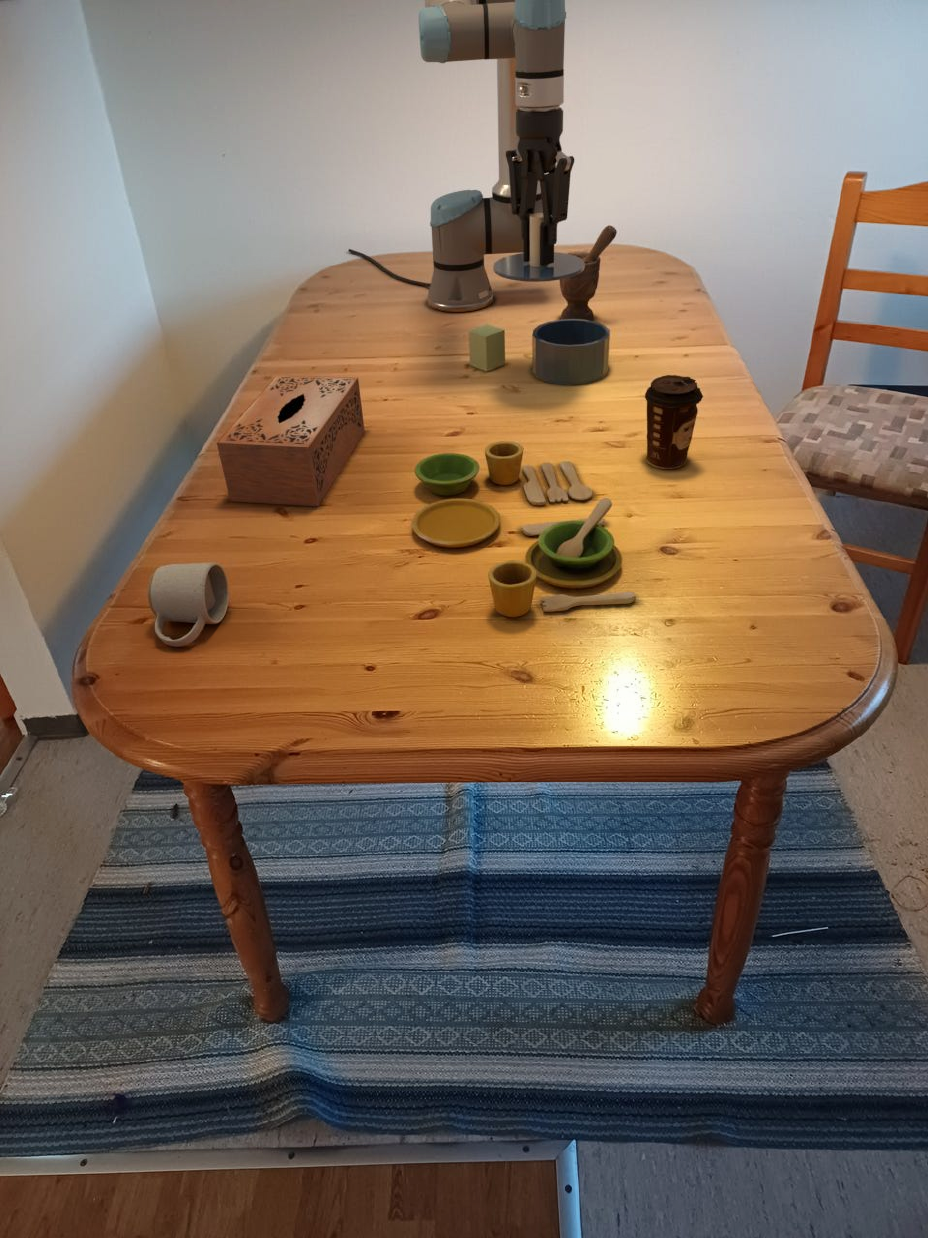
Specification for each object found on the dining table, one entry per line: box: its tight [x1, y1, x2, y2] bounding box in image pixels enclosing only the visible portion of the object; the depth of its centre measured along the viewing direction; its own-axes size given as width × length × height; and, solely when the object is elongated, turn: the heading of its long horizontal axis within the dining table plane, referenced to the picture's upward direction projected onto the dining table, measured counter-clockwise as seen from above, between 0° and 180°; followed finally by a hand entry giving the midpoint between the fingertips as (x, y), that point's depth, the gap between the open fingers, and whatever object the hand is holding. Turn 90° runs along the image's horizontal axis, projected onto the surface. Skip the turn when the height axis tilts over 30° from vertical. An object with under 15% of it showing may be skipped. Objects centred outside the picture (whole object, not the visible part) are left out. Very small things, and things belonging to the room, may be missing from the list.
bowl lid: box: [492, 213, 585, 283], centre depth 153 cm, size 16×16×9 cm
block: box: [468, 323, 506, 373], centre depth 177 cm, size 5×5×7 cm
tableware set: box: [411, 440, 637, 618], centre depth 126 cm, size 41×28×6 cm
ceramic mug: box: [146, 561, 230, 648], centre depth 112 cm, size 11×8×8 cm
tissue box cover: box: [216, 374, 366, 507], centre depth 145 cm, size 26×14×10 cm, turn 169°
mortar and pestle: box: [559, 225, 618, 321], centre depth 191 cm, size 12×9×20 cm
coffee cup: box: [644, 374, 704, 470], centre depth 140 cm, size 9×8×13 cm
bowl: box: [531, 319, 611, 386], centre depth 173 cm, size 15×15×8 cm
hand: (538, 261), depth 155 cm, fingers closed on bowl lid, 3 cm apart
